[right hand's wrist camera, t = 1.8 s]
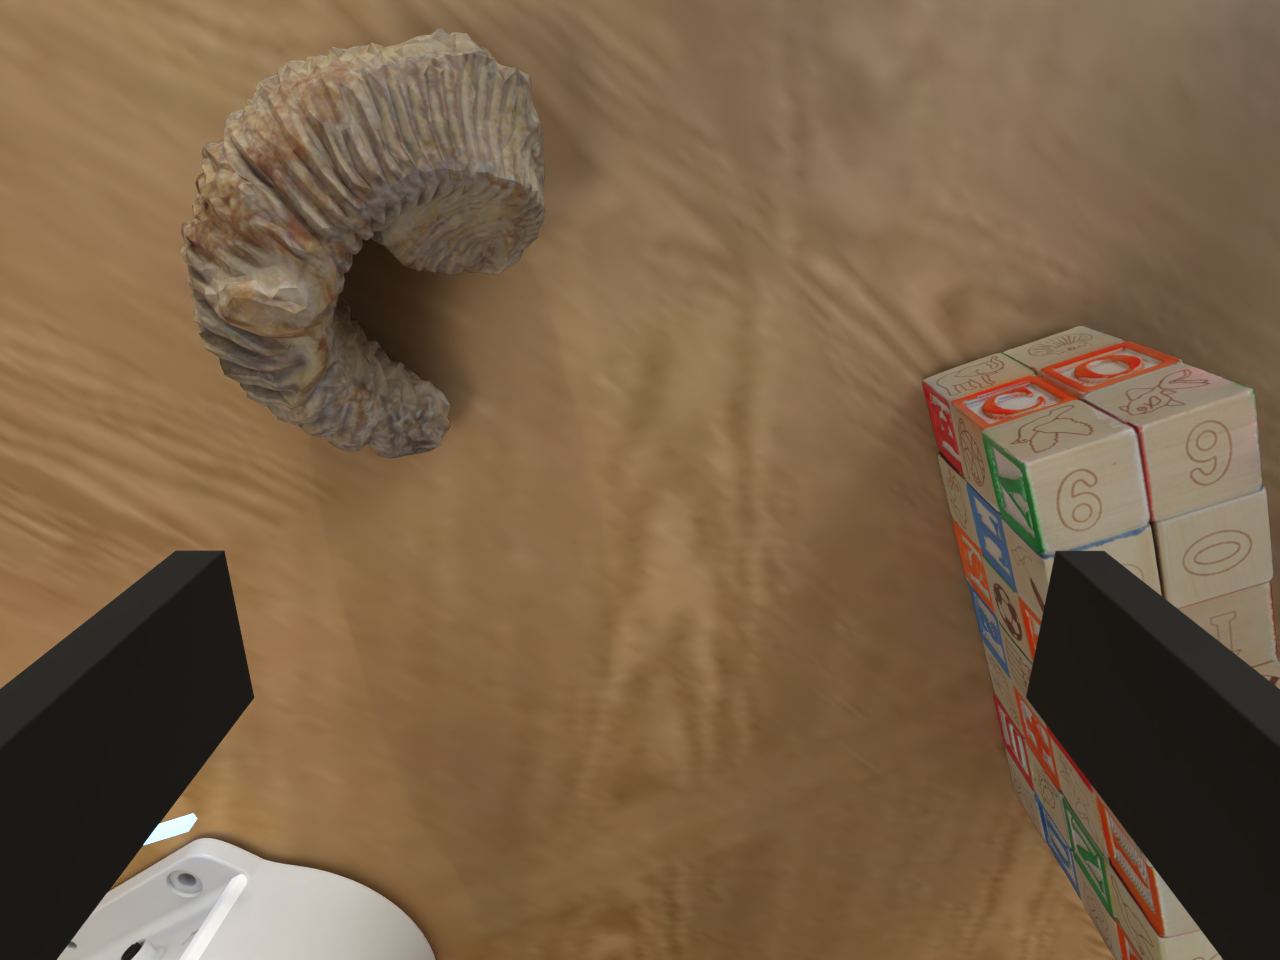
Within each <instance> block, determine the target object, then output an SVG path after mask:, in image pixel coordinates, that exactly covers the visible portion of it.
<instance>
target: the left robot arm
mask: <svg viewBox="0 0 1280 960" xmlns="http://www.w3.org/2000/svg"><path fill="white" fill-rule="evenodd" d="M196 820H197V818H196V816H195V815H194V814H190V815H187V816H183V817H180V818H177V819H174V820H171V821H167V822H164V823H161V824H159V825H158V826H157V827H156V829H155V830H154V831H153V833H152V834H151V835H150V837H149V838H148V839H147V841H146V842H145V843H144V845H145V844H149V843H152V842H155V841H158V840H162V839H165V838H168V837H171V836H175V835H178V834H181V833H184V832H188V831H189V830H190V828H191V827H192V825H193V824H194V822H195V821H196ZM57 960H436V959H435V956H434V953H433V951H432V949H431V947H430V945H429V943H428V941H427V939H426V938H425V936H424V935H423V933H422V932H421V930H420V929H419V928H418V926H417V925H416V924H415V923H414V922H413V921H412V920H411V918H410V917H408V916H407V915H406V914H405V913H404V912H403V911H402V910H401V909H400V908H399V907H397V906H396V905H395V904H393V903H392V902H391V901H389V900H388V899H387V898H385V897H384V896H382V895H380V894H379V893H377V892H375V891H374V890H372V889H370V888H368V887H366V886H364V885H362V884H360V883H358V882H355V881H353V880H351V879H348V878H345V877H343V876H340V875H337V874H333V873H330V872H326V871H323V870H319V869H314V868H309V867H302V866H295V865H289V864H282V863H277V862H272V861H268V860H265V859H262V858H260V857H258V856H256V855H254V854H252V853H250V852H248V851H245V850H243V849H241V848H239V847H237V846H234V845H232V844H230V843H227V842H224V841H221V840H217V839H212V838H201V839H197V840H195V841H193V842H191V843H189V844H188V845H186V846H184V847H183V848H181V849H179V850H178V851H176V852H174V853H172V854H171V855H169V856H167V857H166V858H164V859H162V860H161V861H159V862H157V863H156V864H154V865H152V866H151V867H149V868H147V869H146V870H144V871H142V872H141V873H139V874H137V875H136V876H134V877H132V878H131V879H129V880H127V881H126V882H124V883H122V884H121V885H119V886H117V887H116V888H114V889H112V890H111V891H109V892H107V894H106V895H105V896H104V898H103V899H102V900H101V902H100V903H99V904H98V906H97V907H96V908H95V910H94V911H93V912H92V914H91V915H90V916H89V918H88V919H87V920H86V922H85V923H84V924H83V926H82V927H81V928H80V930H79V931H78V932H77V934H76V935H75V936H74V938H73V939H72V940H71V942H70V943H69V944H68V946H67V947H66V948H65V950H64V951H63V952H62V954H61V955H60V956H59V958H58V959H57Z"/></svg>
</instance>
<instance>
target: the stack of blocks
mask: <svg viewBox="0 0 1280 960" xmlns="http://www.w3.org/2000/svg"><path fill="white" fill-rule="evenodd" d="M922 386H923V390H924V394H925V397H926V401H927V405H928V409H929V413H930V417H931V422H932V425H933V429H934V434H935V437H936V441H937V446H938V448H939V450H940V452H939V454H938V460H939V465H940V469H941V473H942V478H943V482H944V486H945V490H946V494H947V499H948V503H949V507H950V511H951V514H952V516H953V525H954V530H955V534H956V539H957V543H958V547H959V552H960V556H961V560H962V565H963V569H964V574H965V577H966V579H967V580H968V581H969V586H970V591H971V595H972V599H973V603H974V608H975V612H976V617H977V621H978V626H979V630H980V634H981V636H982V639H983V645H984V649H985V654H986V658H987V662H988V666H989V671H990V675H991V679H992V683H993V687H994V691H995V693H994V700H995V705H996V710H997V714H998V719H999V723H1000V727H1001V732H1002V737H1003V741H1004V744H1005V751H1006V756H1007V760H1008V765H1009V769H1010V773H1011V778H1012V782H1013V786H1014V790H1015V793H1016V795H1017V797H1018V799H1019V801H1020V802H1021V804H1022V806H1023V807H1024V809H1025V810H1026V812H1027V813H1028V815H1029V816H1030V818H1031V820H1032V822H1033V823H1034V825H1035V827H1036V829H1037V830H1038V832H1039V834H1040V835H1041V837H1042V839H1043V840H1044V842H1045V843H1047V844H1048V846H1049V847H1050V849H1051V851H1052V853H1053V854H1054V856H1055V858H1056V859H1057V861H1058V862H1059V864H1060V865H1061V867H1062V869H1063V870H1064V872H1065V873H1066V875H1067V877H1068V878H1069V880H1070V882H1071V884H1072V885H1073V887H1074V889H1075V891H1076V892H1077V894H1078V896H1079V898H1080V899H1081V901H1082V902H1083V905H1084V907H1085V909H1086V911H1087V913H1088V914H1089V916H1090V917H1091V919H1092V921H1093V922H1094V924H1095V926H1096V928H1097V929H1098V931H1099V933H1100V935H1101V936H1102V938H1103V940H1104V942H1105V943H1106V945H1107V947H1108V948H1109V950H1110V951H1111V953H1112V955H1113V956H1114V958H1115V959H1116V960H1223V959H1222V958H1221V956H1220V955H1219V954H1218V952H1217V951H1216V950H1215V948H1214V947H1213V946H1212V944H1211V943H1210V942H1209V940H1208V939H1207V938H1206V936H1205V935H1204V934H1203V932H1202V931H1201V930H1200V928H1199V927H1198V926H1197V924H1196V923H1195V922H1194V920H1193V919H1192V918H1191V916H1190V915H1189V914H1188V912H1187V911H1186V910H1185V908H1184V907H1183V906H1182V904H1181V903H1180V902H1179V900H1178V899H1177V898H1176V896H1175V895H1174V894H1173V892H1172V891H1171V890H1170V888H1169V887H1168V886H1167V884H1166V883H1165V882H1164V880H1163V879H1162V878H1161V876H1160V875H1159V874H1158V872H1157V871H1156V870H1155V868H1154V867H1153V866H1152V864H1151V863H1150V862H1149V861H1148V859H1147V858H1146V857H1145V855H1144V854H1143V853H1142V851H1141V850H1140V849H1139V847H1138V846H1137V845H1136V843H1135V842H1134V841H1133V839H1132V838H1131V837H1130V835H1129V834H1128V833H1127V831H1126V830H1125V829H1124V827H1123V826H1122V825H1121V823H1120V822H1119V821H1118V819H1117V818H1116V817H1115V815H1114V814H1113V813H1112V811H1111V810H1110V809H1109V807H1108V806H1107V805H1106V803H1105V802H1104V801H1103V799H1102V798H1101V797H1100V795H1099V794H1098V793H1097V791H1096V790H1095V789H1094V787H1093V786H1092V785H1091V783H1090V782H1089V781H1088V779H1087V778H1086V777H1085V775H1084V774H1083V773H1082V771H1081V770H1080V769H1079V768H1078V766H1077V765H1076V764H1075V762H1074V761H1073V760H1072V758H1071V757H1070V756H1069V754H1068V753H1067V752H1066V750H1065V749H1064V748H1063V746H1062V745H1061V744H1060V742H1059V741H1058V740H1057V738H1056V737H1055V736H1054V734H1053V733H1052V732H1051V730H1050V729H1049V728H1048V726H1047V725H1046V724H1045V722H1044V721H1043V720H1042V718H1041V717H1040V716H1039V714H1038V713H1037V712H1036V710H1035V709H1034V708H1033V706H1032V705H1031V704H1030V702H1029V701H1028V700H1027V698H1026V694H1027V690H1028V685H1029V680H1030V675H1031V670H1032V665H1033V660H1034V655H1035V650H1036V645H1037V640H1038V635H1039V630H1040V626H1041V621H1042V616H1043V611H1044V606H1045V601H1046V596H1047V591H1048V586H1049V581H1050V576H1051V571H1052V566H1053V562H1054V557H1055V552H1056V551H1105V552H1106V553H1108V554H1109V555H1110V556H1111V557H1113V558H1114V559H1115V560H1117V561H1118V562H1119V563H1120V564H1122V565H1123V566H1124V567H1125V568H1127V569H1128V570H1129V571H1130V572H1132V573H1133V574H1134V575H1136V576H1137V577H1138V578H1139V579H1141V580H1142V581H1143V582H1144V583H1146V584H1147V585H1148V586H1150V587H1151V588H1152V589H1153V590H1155V591H1156V592H1157V593H1158V594H1160V595H1161V596H1162V597H1163V598H1165V599H1166V600H1167V601H1169V602H1170V603H1171V604H1172V605H1174V606H1175V607H1176V608H1177V609H1179V610H1180V611H1181V612H1183V613H1184V614H1185V615H1186V616H1188V617H1189V618H1190V619H1191V620H1193V621H1194V622H1195V623H1196V624H1198V625H1199V626H1200V627H1202V628H1203V629H1204V630H1205V631H1207V632H1208V633H1209V634H1210V635H1212V636H1213V637H1214V638H1215V639H1217V640H1218V641H1219V642H1221V643H1222V644H1223V645H1224V646H1226V647H1227V648H1228V649H1229V650H1231V651H1232V652H1233V653H1235V654H1236V655H1237V656H1238V657H1240V658H1241V659H1242V660H1243V661H1245V662H1246V663H1247V664H1248V665H1250V666H1251V667H1252V668H1254V669H1255V670H1256V671H1257V672H1259V673H1260V674H1261V675H1262V676H1264V677H1265V678H1266V679H1267V680H1269V681H1270V682H1271V683H1273V684H1274V685H1275V686H1276V687H1278V688H1279V689H1280V663H1279V662H1278V658H1277V645H1276V634H1275V623H1274V613H1273V601H1272V589H1271V583H1270V580H1271V579H1272V577H1273V565H1272V552H1271V540H1270V528H1269V517H1268V505H1267V494H1266V489H1265V488H1264V487H1263V486H1262V485H1261V484H1262V473H1261V459H1260V450H1259V430H1258V425H1257V412H1256V398H1255V393H1254V391H1253V389H1251V388H1248V387H1246V386H1243V385H1241V384H1238V383H1236V382H1233V381H1230V380H1228V379H1225V378H1222V377H1220V376H1217V375H1214V374H1211V373H1208V372H1206V371H1204V370H1201V369H1199V368H1196V367H1192V366H1189V365H1187V364H1183V363H1182V360H1181V359H1179V358H1176V357H1174V356H1171V355H1168V354H1165V353H1162V352H1160V351H1157V350H1154V349H1151V348H1148V347H1145V346H1142V345H1139V344H1136V343H1134V342H1128V341H1124V340H1123V339H1120V338H1117V337H1114V336H1110V335H1107V334H1105V333H1102V332H1098V331H1095V330H1092V329H1089V328H1086V327H1083V326H1078V327H1075V328H1072V329H1070V330H1067V331H1064V332H1060V333H1057V334H1054V335H1052V336H1049V337H1046V338H1043V339H1040V340H1037V341H1034V342H1031V343H1028V344H1025V345H1022V346H1019V347H1016V348H1013V349H1010V350H1007V351H1005V352H1003V353H998V354H993V355H990V356H987V357H984V358H981V359H978V360H975V361H972V362H969V363H966V364H963V365H961V366H958V367H955V368H952V369H949V370H946V371H944V372H941V373H939V374H936V375H934V376H931V377H929V378H926V379H924V380H923V381H922Z"/></svg>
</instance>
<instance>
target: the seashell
mask: <svg viewBox="0 0 1280 960" xmlns="http://www.w3.org/2000/svg"><path fill="white" fill-rule="evenodd" d="M255 91H256V93H254V94H253V98H252V99H247V106H245V108H244V109H242V110H237V111H234V112H233V113H231V114H230V115H229V116H228V118H227V121H226V123H225V127H224V139H223V140H221V141H219V142H218V143H207V144H205V145H203V150H202V154H203V164H202V169H203V173H202V174H201V175H199V176H198V178H197V180H196V187H197V190H198V194H197V197H196V198H197V199H196V201H195V202H194V204H193V206H192V207H193V220H189V221H185V222H182V231H181V233H182V236H183V239H184V242H185V247H184V248H182V249H181V251H180V254H181V256H182V257H183V259H184V261H185V262H186V263H187V264H188V270H189V276H188V278H187V281H188V282H189V284H190V286H191V288H192V299H193V301H194V303H195V305H196V307H197V308H196V309H195V310H194V314H195V318H194V321H195V322H196V323H198V325H199V327H200V329H201V331H202V332H201V333H199V334H200V336H201V338H202V339H203V342H204V345H205V348H206V349H207V350H208V351H210V352H211V353H213V354H215V355H216V356H218V357H220V364H221V366H222V369H223V371H224V375H225V376H227V377H229V378H231V379H234V380H236V381H238V382H240V386H241V387H242V388H243V389H244V390H245V391H246V392H247V398H250V399H252V400H254V401H256V402H258V403H260V404H262V405H265V406H268V408H269V409H270V410H271V412H273V413H274V414H275V415H277V419H278V420H281V421H285V422H288V423H292V424H296V425H299V427H300V428H302V429H303V430H304V431H305V432H306V433H308V434H310V435H314V436H318V437H323V436H325V437H326V438H327V440H328V442H329V443H331V444H332V445H333V446H335V447H336V448H339V449H342V450H346V451H349V452H353V451H358V450H361V449H362V448H363V447H364V446H365V445H366V444H368V445H369V446H370V447H371V448H372V449H373V450H374V452H375V453H376V454H377V455H378V456H382V457H386V458H397V457H401V456H406V455H411V454H417V453H423V452H428V451H431V450H433V449H435V448H437V447H439V446H440V445H441V441H442V437H443V436H444V435H445V433H446V432H447V431H448V430H449V428H450V423H449V420H448V414H449V411H450V407H451V406H450V404H449V402H448V401H447V399H446V397H445V396H444V394H443V393H442V392H441V391H440V390H439V389H438V388H436V387H435V386H434V385H433V384H432V383H431V382H430V381H428V380H421V379H420V378H419V377H418V376H417V375H416V374H415V373H414V372H413V371H411V370H410V369H409V368H408V367H407V366H405V365H404V364H403V363H401V362H398V361H393V360H390V359H389V358H388V356H387V355H386V353H385V351H384V350H383V348H382V347H381V346H380V344H379V343H378V342H377V341H376V340H367V339H366V336H365V333H364V331H363V330H362V328H361V326H360V325H359V323H358V322H357V320H354V319H350V306H349V304H348V303H347V300H345V299H344V298H343V297H342V295H341V292H342V291H343V287H344V281H345V278H344V272H348V271H349V269H350V267H351V265H352V262H353V254H355V255H356V254H357V253H358V252H359V251H360V250H361V249H362V247H363V239H365V240H369V239H371V240H372V241H375V242H377V243H379V244H381V245H383V246H384V247H385V248H386V249H387V250H388V251H389V252H390V253H391V254H392V255H393V256H394V257H395V258H396V259H397V260H398V261H399V262H400V263H401V264H402V265H403V266H405V267H409V268H412V269H414V270H417V271H424V270H425V271H429V272H434V273H436V272H443V273H447V274H460V273H461V272H463V271H464V270H466V271H468V272H471V273H476V272H480V273H485V274H493V275H499V274H500V273H501V272H503V271H504V270H505V269H506V268H508V267H509V266H511V265H513V264H514V263H516V262H517V261H519V259H520V257H521V255H522V253H523V251H524V249H525V248H526V247H528V246H529V245H530V244H531V243H532V242H533V241H534V240H535V239H537V238H538V231H539V229H540V227H541V224H542V222H543V220H544V217H543V216H544V212H545V207H544V201H543V196H542V193H543V186H544V179H545V171H544V156H543V131H542V128H541V125H540V121H539V118H538V116H537V113H536V111H535V108H534V105H533V103H532V94H531V80H530V75H529V74H527V73H525V72H523V71H521V70H519V69H516V68H515V67H508V66H503V65H500V64H499V63H498V62H497V61H496V60H495V59H494V57H493V56H492V55H491V54H490V52H489V51H488V50H487V49H486V48H484V47H482V46H480V45H478V44H476V43H475V42H473V41H472V40H471V38H470V37H469V35H468V34H467V33H459V32H455V33H451V34H448V33H447V32H446V31H444V30H443V29H442V28H439V29H437V30H436V31H435V32H433V33H432V34H431V35H421V36H416V37H414V38H412V39H410V40H408V41H405V42H403V43H400V44H396V45H392V46H382V45H378V44H375V43H370V44H369V45H362V46H354V47H351V48H349V49H340V48H336V47H332V48H331V49H330V50H329V53H328V55H327V56H323V55H319V56H313V57H308V58H307V60H306V61H300V60H294V61H288V62H287V63H286V64H285V65H284V66H283V67H280V68H278V69H277V75H275V76H272V77H269V78H266V79H264V80H262V81H260V82H259V83H258V85H257V86H256V88H255Z"/></svg>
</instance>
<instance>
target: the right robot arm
mask: <svg viewBox="0 0 1280 960" xmlns="http://www.w3.org/2000/svg"><path fill="white" fill-rule="evenodd" d="M253 698H254V694H253V690H252V685H251V680H250V675H249V670H248V665H247V660H246V655H245V650H244V645H243V640H242V635H241V630H240V626H239V621H238V616H237V611H236V606H235V601H234V596H233V591H232V586H231V581H230V576H229V571H228V566H227V562H226V557H225V552H224V551H175V552H174V553H172V554H171V555H170V556H169V557H167V558H166V559H165V560H163V561H162V562H161V563H160V564H158V565H157V566H156V567H155V568H153V569H152V570H151V571H150V572H148V573H147V574H146V575H144V576H143V577H142V578H141V579H139V580H138V581H137V582H136V583H134V584H133V585H132V586H130V587H129V588H128V589H127V590H125V591H124V592H123V593H122V594H120V595H119V596H118V597H117V598H115V599H114V600H113V601H111V602H110V603H109V604H108V605H106V606H105V607H104V608H103V609H101V610H100V611H99V612H98V613H96V614H95V615H94V616H92V617H91V618H90V619H89V620H87V621H86V622H85V623H84V624H82V625H81V626H80V627H78V628H77V629H76V630H75V631H73V632H72V633H71V634H70V635H68V636H67V637H66V638H65V639H63V640H62V641H61V642H59V643H58V644H57V645H56V646H54V647H53V648H52V649H51V650H49V651H48V652H47V653H45V654H44V655H43V656H42V657H40V658H39V659H38V660H37V661H35V662H34V663H33V664H32V665H30V666H29V667H28V668H26V669H25V670H24V671H23V672H21V673H20V674H19V675H18V676H16V677H15V678H14V679H13V680H11V681H10V682H9V683H7V684H6V685H5V686H4V687H2V688H1V689H0V960H57V959H58V958H59V956H60V955H61V954H62V952H63V951H64V950H65V948H66V947H67V946H68V944H69V943H70V942H71V940H72V939H73V938H74V936H75V935H76V934H77V932H78V931H79V930H80V928H81V927H82V926H83V924H84V923H85V922H86V920H87V919H88V918H89V916H90V915H91V914H92V912H93V911H94V910H95V908H96V907H97V906H98V904H99V903H100V902H101V900H102V899H103V898H104V896H105V895H106V894H107V892H108V891H109V890H110V888H111V887H112V886H113V884H114V883H115V882H116V880H117V879H118V878H119V876H120V875H121V874H122V872H123V871H124V870H125V868H126V867H127V866H128V865H129V863H130V862H131V861H132V859H133V858H134V857H135V855H136V854H137V853H138V851H139V850H140V849H141V847H142V846H143V845H144V843H145V842H146V841H147V839H148V838H149V837H150V835H151V834H152V833H153V831H154V830H155V829H156V827H157V826H158V825H159V823H160V822H161V821H162V819H163V818H164V817H165V815H166V814H167V813H168V811H169V810H170V809H171V807H172V806H173V805H174V803H175V802H176V801H177V799H178V798H179V797H180V795H181V794H182V793H183V791H184V790H185V789H186V787H187V786H188V785H189V783H190V782H191V781H192V779H193V778H194V777H195V775H196V774H197V773H198V771H199V770H200V769H201V768H202V766H203V765H204V764H205V762H206V761H207V760H208V758H209V757H210V756H211V754H212V753H213V752H214V750H215V749H216V748H217V746H218V745H219V744H220V742H221V741H222V740H223V738H224V737H225V736H226V734H227V733H228V732H229V730H230V729H231V728H232V726H233V725H234V724H235V722H236V721H237V720H238V718H239V717H240V716H241V714H242V713H243V712H244V710H245V709H246V708H247V706H248V705H249V704H250V702H251V701H252V700H253ZM1026 698H1027V700H1028V701H1029V702H1030V704H1031V705H1032V706H1033V708H1034V709H1035V710H1036V712H1037V713H1038V714H1039V716H1040V717H1041V718H1042V720H1043V721H1044V722H1045V724H1046V725H1047V726H1048V728H1049V729H1050V730H1051V732H1052V733H1053V734H1054V736H1055V737H1056V738H1057V740H1058V741H1059V742H1060V744H1061V745H1062V746H1063V748H1064V749H1065V750H1066V752H1067V753H1068V754H1069V756H1070V757H1071V758H1072V760H1073V761H1074V762H1075V764H1076V765H1077V766H1078V768H1079V769H1080V770H1081V771H1082V773H1083V774H1084V775H1085V777H1086V778H1087V779H1088V781H1089V782H1090V783H1091V785H1092V786H1093V787H1094V789H1095V790H1096V791H1097V793H1098V794H1099V795H1100V797H1101V798H1102V799H1103V801H1104V802H1105V803H1106V805H1107V806H1108V807H1109V809H1110V810H1111V811H1112V813H1113V814H1114V815H1115V817H1116V818H1117V819H1118V821H1119V822H1120V823H1121V825H1122V826H1123V827H1124V829H1125V830H1126V831H1127V833H1128V834H1129V835H1130V837H1131V838H1132V839H1133V841H1134V842H1135V843H1136V845H1137V846H1138V847H1139V849H1140V850H1141V851H1142V853H1143V854H1144V855H1145V857H1146V858H1147V859H1148V861H1149V862H1150V863H1151V864H1152V866H1153V867H1154V868H1155V870H1156V871H1157V872H1158V874H1159V875H1160V876H1161V878H1162V879H1163V880H1164V882H1165V883H1166V884H1167V886H1168V887H1169V888H1170V890H1171V891H1172V892H1173V894H1174V895H1175V896H1176V898H1177V899H1178V900H1179V902H1180V903H1181V904H1182V906H1183V907H1184V908H1185V910H1186V911H1187V912H1188V914H1189V915H1190V916H1191V918H1192V919H1193V920H1194V922H1195V923H1196V924H1197V926H1198V927H1199V928H1200V930H1201V931H1202V932H1203V934H1204V935H1205V936H1206V938H1207V939H1208V940H1209V942H1210V943H1211V944H1212V946H1213V947H1214V948H1215V950H1216V951H1217V952H1218V954H1219V955H1220V956H1221V958H1222V959H1223V960H1280V689H1279V688H1278V687H1276V686H1275V685H1274V684H1273V683H1271V682H1270V681H1269V680H1267V679H1266V678H1265V677H1264V676H1262V675H1261V674H1260V673H1259V672H1257V671H1256V670H1255V669H1254V668H1252V667H1251V666H1250V665H1248V664H1247V663H1246V662H1245V661H1243V660H1242V659H1241V658H1240V657H1238V656H1237V655H1236V654H1235V653H1233V652H1232V651H1231V650H1229V649H1228V648H1227V647H1226V646H1224V645H1223V644H1222V643H1221V642H1219V641H1218V640H1217V639H1215V638H1214V637H1213V636H1212V635H1210V634H1209V633H1208V632H1207V631H1205V630H1204V629H1203V628H1202V627H1200V626H1199V625H1198V624H1196V623H1195V622H1194V621H1193V620H1191V619H1190V618H1189V617H1188V616H1186V615H1185V614H1184V613H1183V612H1181V611H1180V610H1179V609H1177V608H1176V607H1175V606H1174V605H1172V604H1171V603H1170V602H1169V601H1167V600H1166V599H1165V598H1163V597H1162V596H1161V595H1160V594H1158V593H1157V592H1156V591H1155V590H1153V589H1152V588H1151V587H1150V586H1148V585H1147V584H1146V583H1144V582H1143V581H1142V580H1141V579H1139V578H1138V577H1137V576H1136V575H1134V574H1133V573H1132V572H1130V571H1129V570H1128V569H1127V568H1125V567H1124V566H1123V565H1122V564H1120V563H1119V562H1118V561H1117V560H1115V559H1114V558H1113V557H1111V556H1110V555H1109V554H1108V553H1106V552H1105V551H1056V552H1055V557H1054V562H1053V566H1052V571H1051V576H1050V581H1049V586H1048V591H1047V596H1046V601H1045V606H1044V611H1043V616H1042V621H1041V626H1040V630H1039V635H1038V640H1037V645H1036V650H1035V655H1034V660H1033V665H1032V670H1031V675H1030V680H1029V685H1028V690H1027V694H1026Z"/></svg>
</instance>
